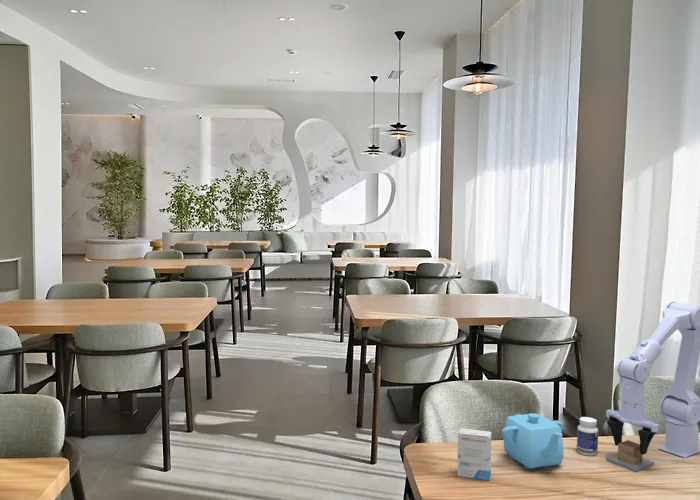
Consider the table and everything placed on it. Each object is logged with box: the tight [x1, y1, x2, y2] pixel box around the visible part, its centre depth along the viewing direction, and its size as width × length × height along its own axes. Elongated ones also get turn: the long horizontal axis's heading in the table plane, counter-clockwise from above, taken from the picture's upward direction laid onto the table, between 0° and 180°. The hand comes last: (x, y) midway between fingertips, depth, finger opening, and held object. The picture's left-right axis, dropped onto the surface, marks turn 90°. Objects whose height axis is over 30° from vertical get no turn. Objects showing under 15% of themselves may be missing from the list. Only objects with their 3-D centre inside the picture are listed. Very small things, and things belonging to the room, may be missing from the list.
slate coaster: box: [605, 452, 655, 473], centre depth 167 cm, size 9×9×1 cm
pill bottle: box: [576, 416, 599, 457], centre depth 174 cm, size 6×6×10 cm
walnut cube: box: [617, 439, 643, 464], centre depth 167 cm, size 4×4×4 cm
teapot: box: [501, 412, 565, 470], centre depth 167 cm, size 18×16×14 cm
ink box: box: [457, 427, 492, 481], centre depth 159 cm, size 9×5×12 cm, turn 71°
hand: (630, 449), depth 167 cm, fingers open, 7 cm apart
